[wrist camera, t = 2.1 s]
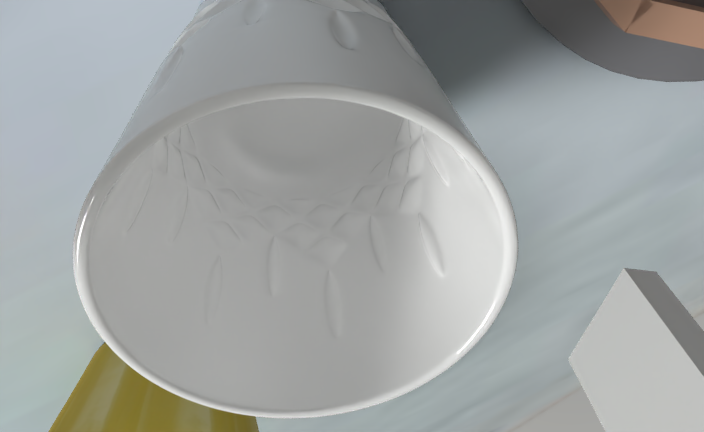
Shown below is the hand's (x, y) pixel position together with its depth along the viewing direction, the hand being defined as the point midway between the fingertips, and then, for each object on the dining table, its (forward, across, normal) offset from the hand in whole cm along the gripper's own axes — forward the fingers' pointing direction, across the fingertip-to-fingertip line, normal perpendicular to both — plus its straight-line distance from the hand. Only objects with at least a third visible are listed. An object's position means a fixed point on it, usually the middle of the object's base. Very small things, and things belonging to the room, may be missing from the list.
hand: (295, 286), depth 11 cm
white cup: (+10, 0, +1) cm, 10 cm away
